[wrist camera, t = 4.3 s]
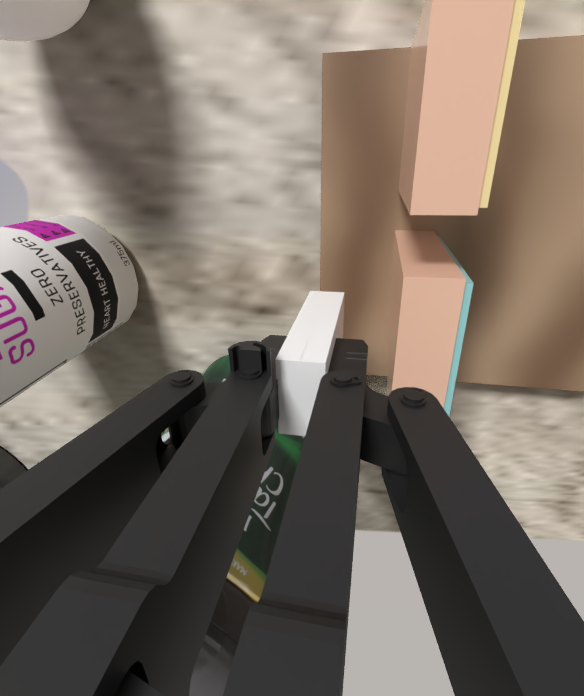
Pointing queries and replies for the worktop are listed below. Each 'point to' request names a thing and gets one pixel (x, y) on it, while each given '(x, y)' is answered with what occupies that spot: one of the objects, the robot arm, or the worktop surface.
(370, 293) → the board
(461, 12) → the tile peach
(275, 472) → the coffee jar
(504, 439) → the worktop surface
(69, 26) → the sauce bottle
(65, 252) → the supplement can
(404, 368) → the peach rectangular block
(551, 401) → the worktop surface
